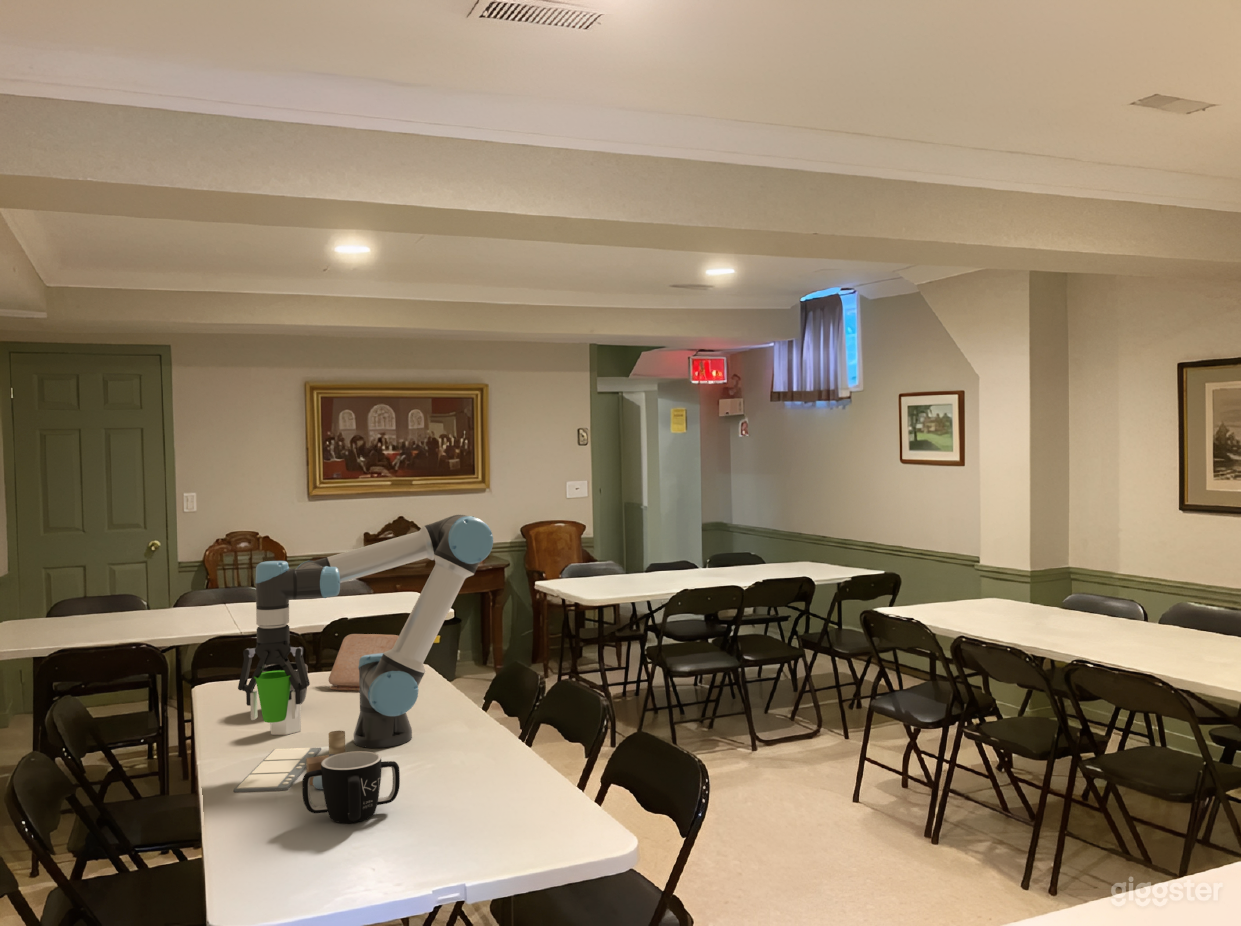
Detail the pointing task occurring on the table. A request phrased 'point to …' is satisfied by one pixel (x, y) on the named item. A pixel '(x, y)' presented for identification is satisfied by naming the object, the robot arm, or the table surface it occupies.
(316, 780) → the dusty blue ball
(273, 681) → the cup
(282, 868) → the table surface
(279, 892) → the table surface
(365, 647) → the case
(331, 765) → the mug
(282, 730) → the jar
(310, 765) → the walnut block
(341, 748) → the beech cylinder
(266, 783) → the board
